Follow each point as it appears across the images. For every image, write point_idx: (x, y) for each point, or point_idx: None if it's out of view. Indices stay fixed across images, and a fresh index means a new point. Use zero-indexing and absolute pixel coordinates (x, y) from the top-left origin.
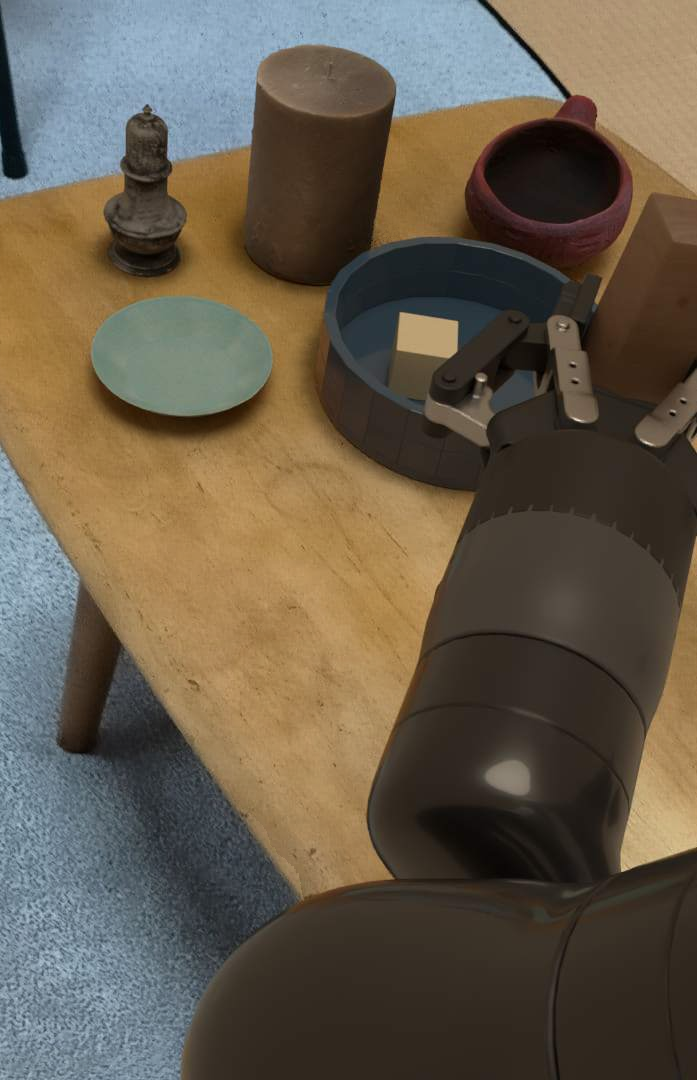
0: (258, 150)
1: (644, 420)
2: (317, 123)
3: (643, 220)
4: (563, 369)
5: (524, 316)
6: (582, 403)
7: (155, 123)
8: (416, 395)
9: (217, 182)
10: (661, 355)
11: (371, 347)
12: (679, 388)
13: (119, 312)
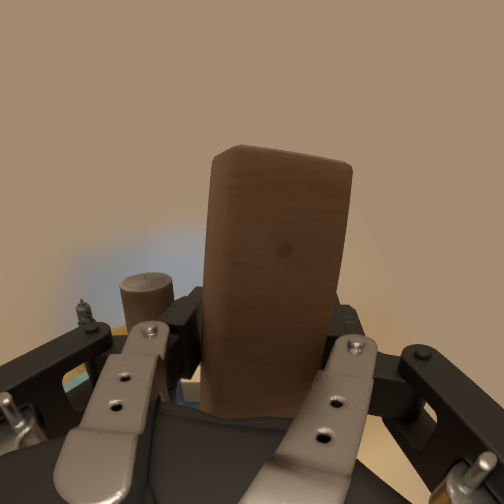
0: (124, 311)
1: (255, 486)
2: (138, 295)
3: (211, 183)
4: (105, 385)
5: (105, 326)
6: (99, 456)
7: (84, 305)
8: (197, 400)
9: (127, 330)
10: (283, 341)
11: (178, 382)
12: (321, 381)
13: (75, 377)
